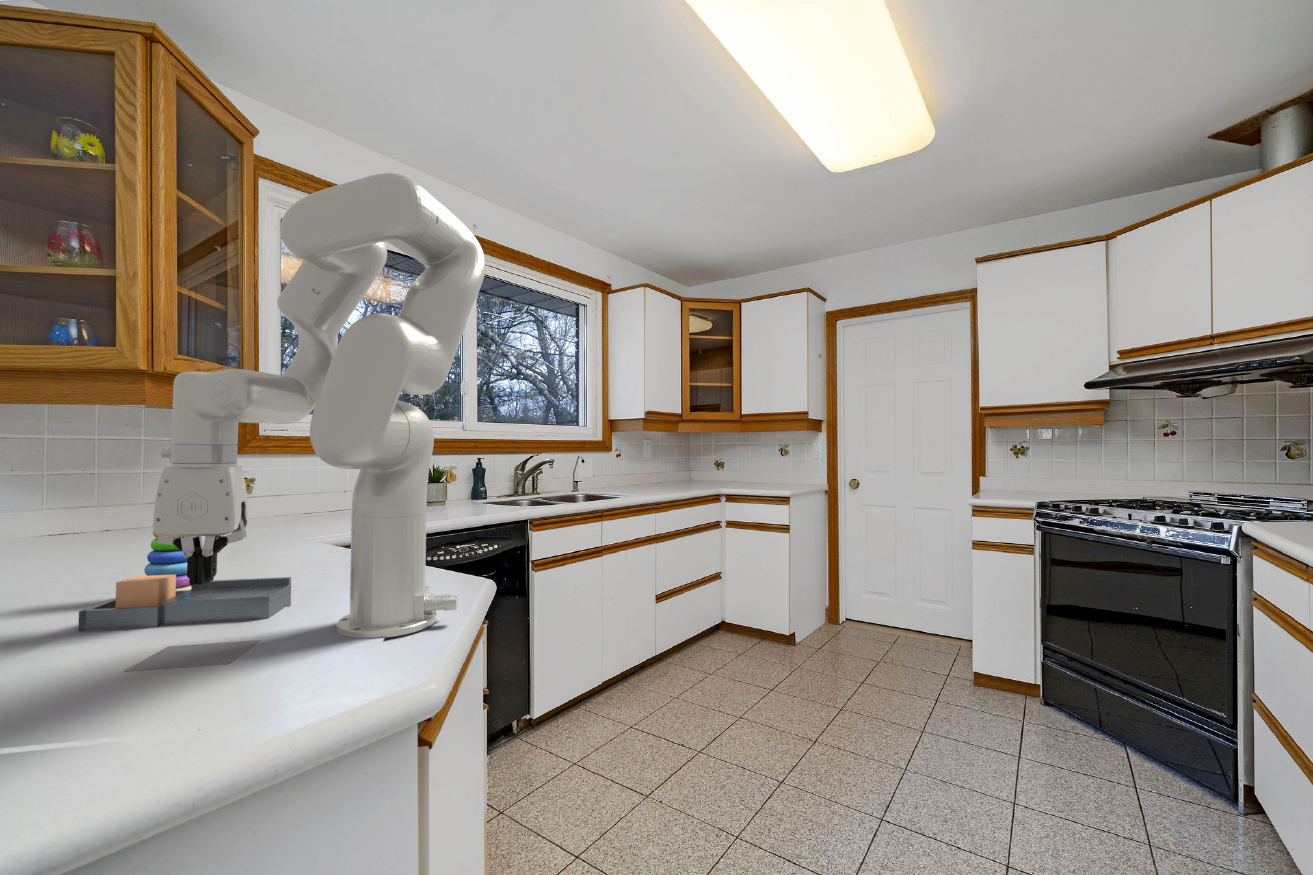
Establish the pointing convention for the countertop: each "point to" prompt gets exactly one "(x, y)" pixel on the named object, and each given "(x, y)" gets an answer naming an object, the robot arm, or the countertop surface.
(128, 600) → the tan cardboard box
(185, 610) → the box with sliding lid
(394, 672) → the countertop surface
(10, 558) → the countertop surface
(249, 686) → the countertop surface
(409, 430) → the robot arm
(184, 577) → the stacking toy
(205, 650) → the mat
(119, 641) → the countertop surface
